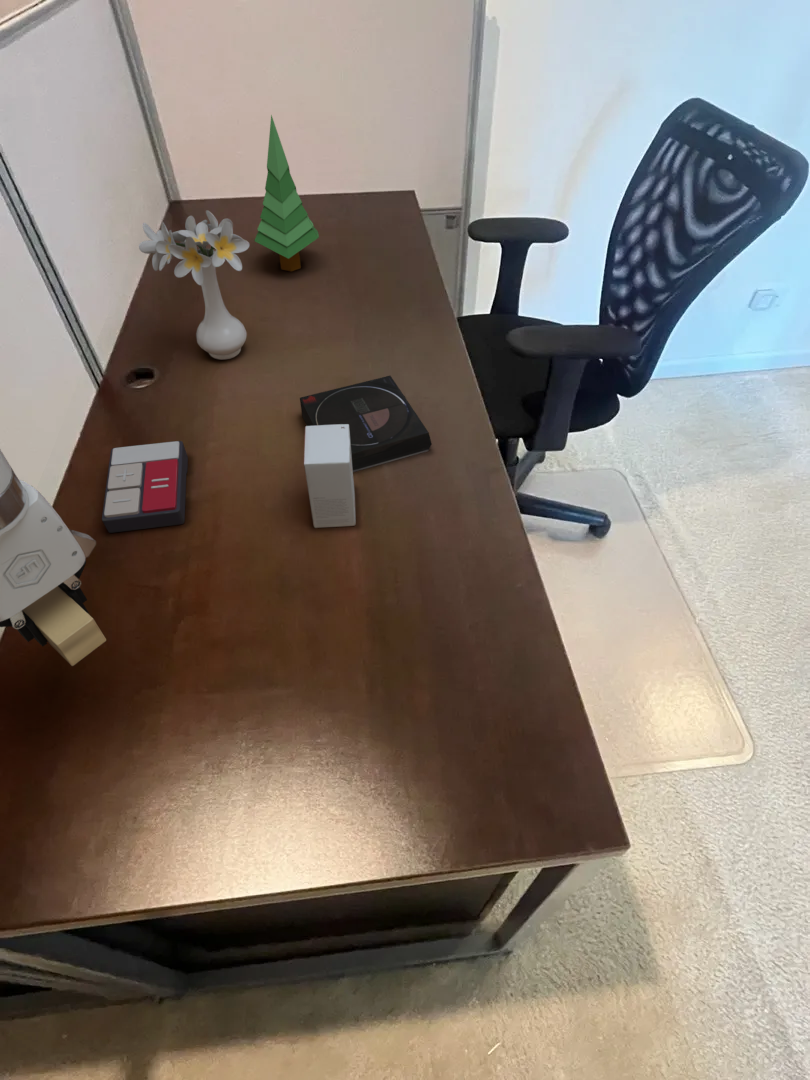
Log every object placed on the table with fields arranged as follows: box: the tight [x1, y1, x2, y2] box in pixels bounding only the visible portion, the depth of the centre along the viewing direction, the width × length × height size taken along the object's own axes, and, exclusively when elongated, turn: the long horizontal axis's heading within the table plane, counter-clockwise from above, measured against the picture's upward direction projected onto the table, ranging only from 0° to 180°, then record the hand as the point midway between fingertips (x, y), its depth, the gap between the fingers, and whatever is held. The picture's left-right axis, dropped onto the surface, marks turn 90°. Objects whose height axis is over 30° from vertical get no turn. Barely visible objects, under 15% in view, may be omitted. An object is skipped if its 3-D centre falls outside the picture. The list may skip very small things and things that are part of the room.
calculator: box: [101, 440, 189, 534], centre depth 102 cm, size 11×4×15 cm
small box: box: [303, 424, 357, 529], centre depth 97 cm, size 8×6×13 cm
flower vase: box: [138, 209, 250, 361], centre depth 119 cm, size 13×18×25 cm
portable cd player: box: [299, 375, 433, 473], centre depth 111 cm, size 16×17×4 cm
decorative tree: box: [254, 114, 320, 272], centre depth 139 cm, size 14×16×30 cm
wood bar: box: [23, 586, 107, 667], centre depth 69 cm, size 11×4×4 cm, turn 50°
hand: (58, 621), depth 70 cm, fingers closed on wood bar, 4 cm apart
